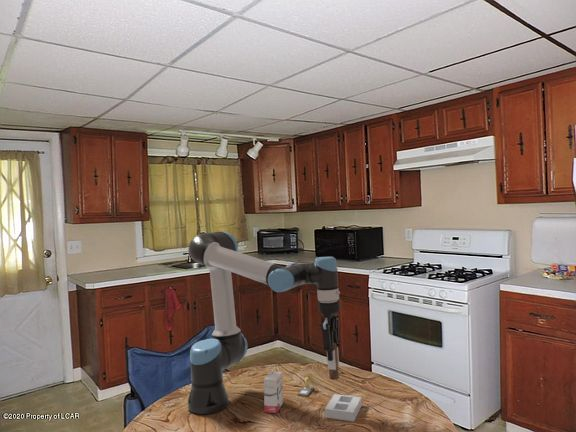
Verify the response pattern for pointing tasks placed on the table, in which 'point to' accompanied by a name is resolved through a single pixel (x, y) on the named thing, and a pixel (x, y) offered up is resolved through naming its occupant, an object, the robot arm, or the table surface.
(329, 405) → the socket board
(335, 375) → the walnut peg
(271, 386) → the ink box
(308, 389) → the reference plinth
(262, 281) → the robot arm
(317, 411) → the table surface
